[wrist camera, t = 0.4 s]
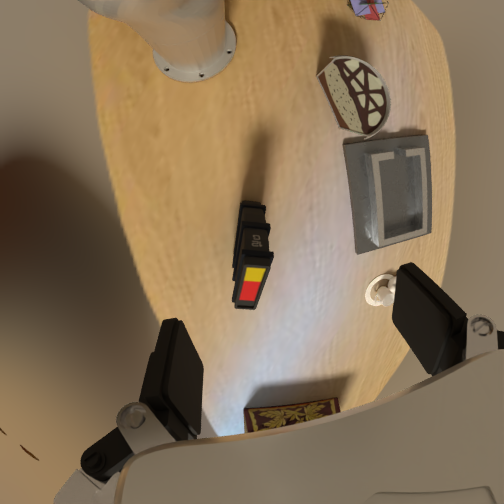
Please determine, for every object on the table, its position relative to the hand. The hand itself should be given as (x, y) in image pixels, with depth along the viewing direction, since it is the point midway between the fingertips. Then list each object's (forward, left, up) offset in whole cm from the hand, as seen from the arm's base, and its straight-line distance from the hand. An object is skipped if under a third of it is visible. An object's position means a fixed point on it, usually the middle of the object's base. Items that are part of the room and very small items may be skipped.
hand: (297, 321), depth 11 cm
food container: (-10, +18, -35) cm, 40 cm away
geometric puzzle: (-27, +26, -35) cm, 51 cm away
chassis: (+8, +25, -34) cm, 44 cm away
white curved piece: (+31, +24, -35) cm, 53 cm away
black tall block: (+10, -3, -35) cm, 36 cm away
